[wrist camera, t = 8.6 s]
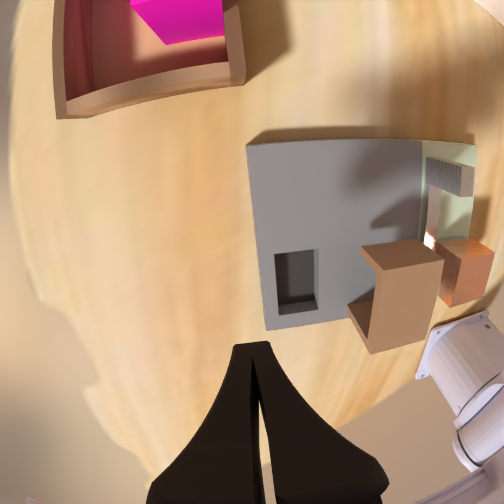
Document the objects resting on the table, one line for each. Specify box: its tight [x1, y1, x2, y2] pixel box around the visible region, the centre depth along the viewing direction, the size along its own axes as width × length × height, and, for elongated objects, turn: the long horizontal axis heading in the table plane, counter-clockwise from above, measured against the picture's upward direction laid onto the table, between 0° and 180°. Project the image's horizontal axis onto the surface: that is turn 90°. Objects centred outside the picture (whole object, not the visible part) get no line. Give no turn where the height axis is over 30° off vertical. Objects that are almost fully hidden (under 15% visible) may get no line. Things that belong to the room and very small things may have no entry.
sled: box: [420, 157, 495, 308], centre depth 17 cm, size 8×10×4 cm
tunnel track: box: [246, 138, 477, 354], centre depth 18 cm, size 18×13×6 cm
